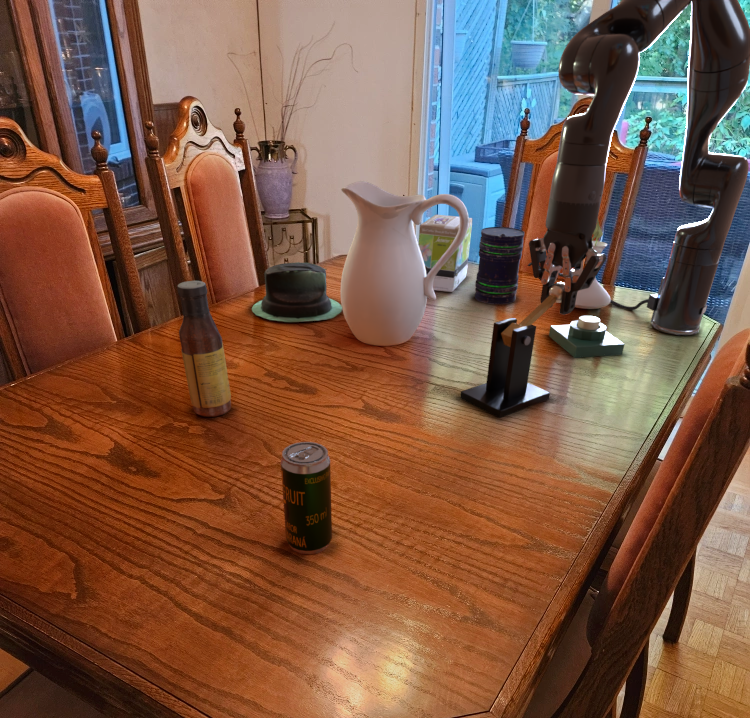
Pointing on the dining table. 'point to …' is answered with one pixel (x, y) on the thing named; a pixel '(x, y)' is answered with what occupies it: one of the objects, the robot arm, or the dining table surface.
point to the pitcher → (390, 264)
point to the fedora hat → (296, 294)
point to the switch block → (586, 340)
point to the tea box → (444, 250)
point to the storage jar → (498, 265)
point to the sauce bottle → (203, 353)
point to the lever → (536, 311)
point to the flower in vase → (594, 282)
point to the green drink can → (307, 497)
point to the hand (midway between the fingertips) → (555, 309)
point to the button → (588, 322)
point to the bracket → (507, 374)
